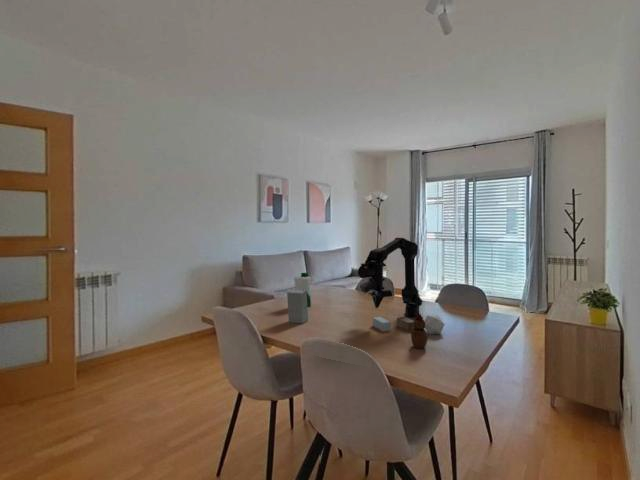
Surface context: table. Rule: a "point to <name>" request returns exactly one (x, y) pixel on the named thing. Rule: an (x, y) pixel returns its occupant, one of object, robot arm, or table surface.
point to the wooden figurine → (419, 332)
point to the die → (433, 324)
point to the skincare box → (297, 306)
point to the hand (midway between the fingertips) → (376, 307)
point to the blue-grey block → (381, 324)
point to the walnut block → (405, 323)
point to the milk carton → (303, 285)
